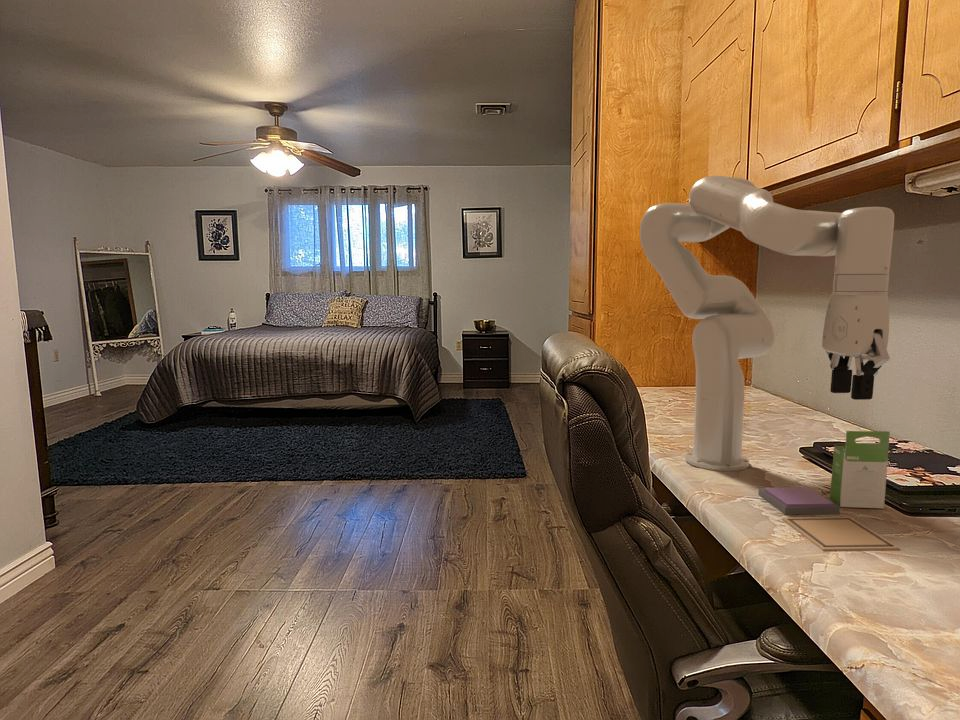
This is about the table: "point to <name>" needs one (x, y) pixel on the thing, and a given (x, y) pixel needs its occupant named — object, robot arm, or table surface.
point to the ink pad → (798, 501)
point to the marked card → (839, 534)
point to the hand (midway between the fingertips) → (850, 394)
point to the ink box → (860, 471)
